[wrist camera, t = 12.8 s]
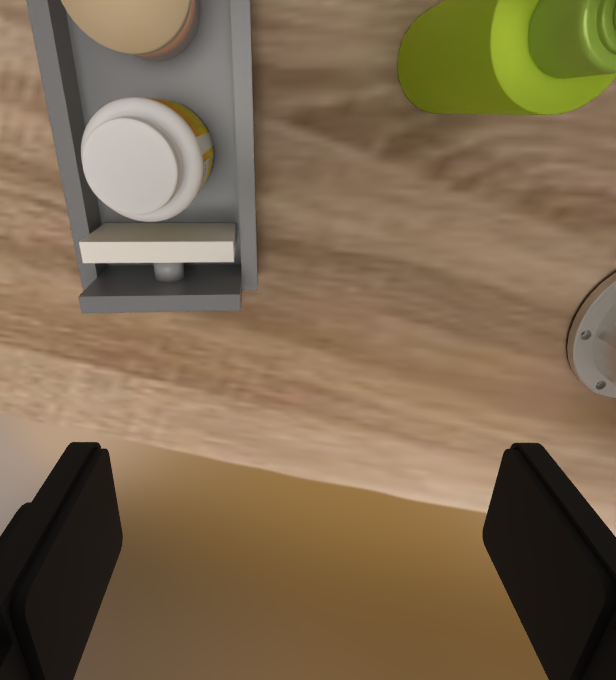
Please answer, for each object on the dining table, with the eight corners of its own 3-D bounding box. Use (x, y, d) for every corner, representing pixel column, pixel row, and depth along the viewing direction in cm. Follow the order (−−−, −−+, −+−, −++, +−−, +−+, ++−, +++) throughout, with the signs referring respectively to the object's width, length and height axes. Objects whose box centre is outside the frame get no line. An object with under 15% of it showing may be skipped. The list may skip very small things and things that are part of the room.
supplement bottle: (110, 107, 28) (38, 106, 19) (203, 92, 28) (177, 83, 19) (138, 203, 30) (87, 243, 21) (224, 189, 31) (210, 222, 21)
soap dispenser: (441, -37, 27) (796, -322, 9) (507, 62, 30) (884, -13, 12) (366, 46, 29) (549, -62, 11) (435, 133, 31) (675, 164, 13)
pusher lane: (248, -83, 26) (245, -146, 19) (257, 273, 34) (257, 310, 28) (34, -96, 24) (-43, -167, 18) (99, 275, 33) (63, 313, 27)
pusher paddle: (236, 223, 31) (232, 241, 27) (237, 240, 32) (233, 262, 27) (105, 222, 31) (78, 242, 26) (108, 241, 31) (82, 263, 27)
